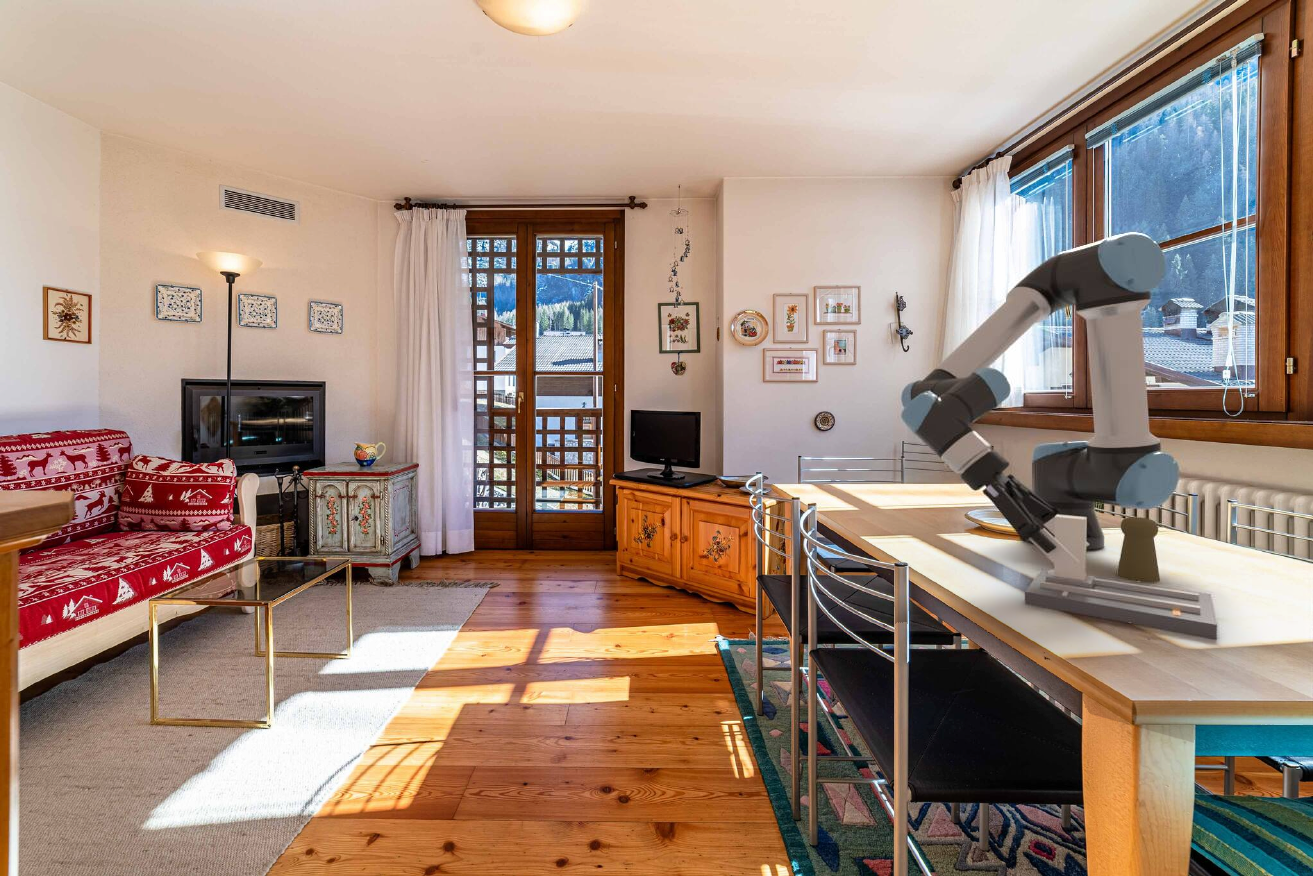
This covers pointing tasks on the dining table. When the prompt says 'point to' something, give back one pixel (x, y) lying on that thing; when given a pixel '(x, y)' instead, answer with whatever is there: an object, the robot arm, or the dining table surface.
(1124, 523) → the cork
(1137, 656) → the dining table surface
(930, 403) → the robot arm
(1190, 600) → the board
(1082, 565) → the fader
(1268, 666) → the dining table surface
